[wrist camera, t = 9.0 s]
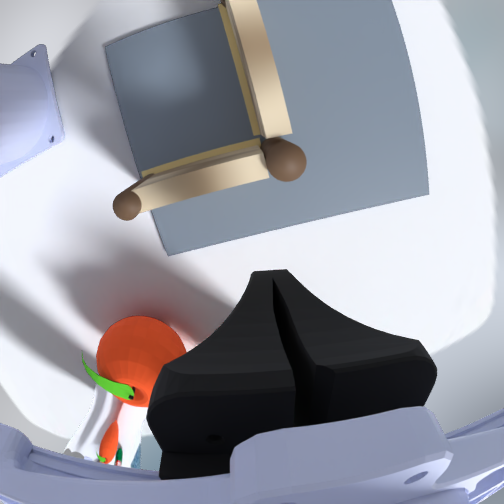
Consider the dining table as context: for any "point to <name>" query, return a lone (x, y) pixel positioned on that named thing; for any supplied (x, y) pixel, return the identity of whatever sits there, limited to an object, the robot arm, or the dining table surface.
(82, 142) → the dining table surface
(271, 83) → the panel
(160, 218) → the card
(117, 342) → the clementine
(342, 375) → the robot arm
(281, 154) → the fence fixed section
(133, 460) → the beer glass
